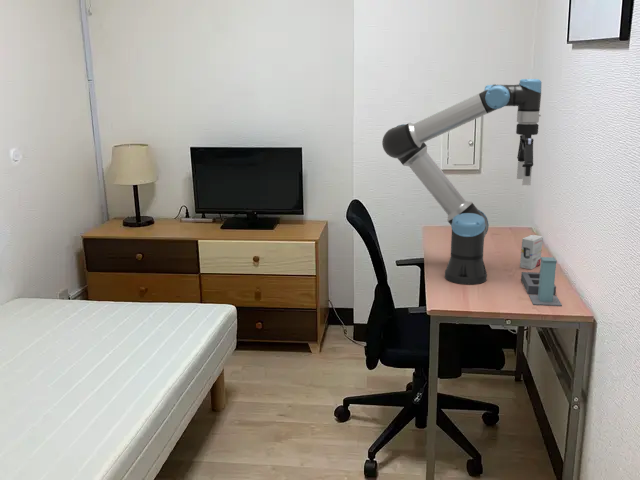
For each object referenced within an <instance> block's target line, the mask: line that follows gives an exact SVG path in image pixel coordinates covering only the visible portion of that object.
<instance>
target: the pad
mask: <svg viewBox="0 0 640 480" xmlns="http://www.w3.org/2000/svg"><path fill="white" fill-rule="evenodd" d="M528 297H529V299H530V301H531V303H532V305H533V306H545V307H546V306H547V307H548V306H550V307H562V306H563V304H562V302H561V301H560V299H559V297H558V296H557V295H553V302H540V301H539V299H538V295H534V294H528Z"/></svg>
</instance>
